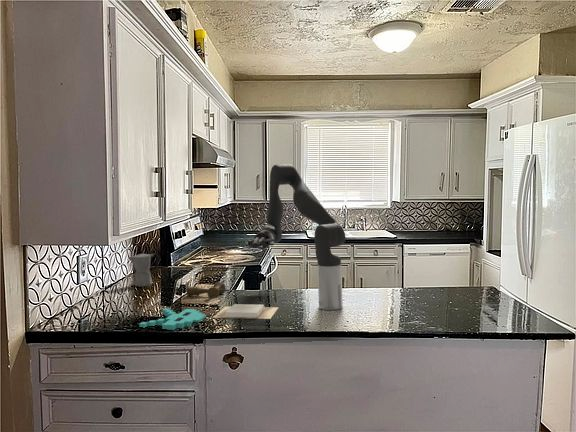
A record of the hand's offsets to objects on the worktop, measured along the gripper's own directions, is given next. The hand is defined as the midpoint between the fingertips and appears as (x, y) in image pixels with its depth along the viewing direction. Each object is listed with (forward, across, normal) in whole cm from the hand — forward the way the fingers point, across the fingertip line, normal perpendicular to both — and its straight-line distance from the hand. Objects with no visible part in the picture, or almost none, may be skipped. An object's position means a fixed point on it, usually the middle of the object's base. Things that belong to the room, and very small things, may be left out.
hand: (255, 245), depth 188 cm
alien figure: (+24, -25, +25) cm, 43 cm away
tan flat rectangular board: (+15, 0, +24) cm, 29 cm away
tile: (+11, 0, +22) cm, 25 cm away
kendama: (-12, -25, +26) cm, 38 cm away
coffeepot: (-36, -67, +26) cm, 81 cm away
